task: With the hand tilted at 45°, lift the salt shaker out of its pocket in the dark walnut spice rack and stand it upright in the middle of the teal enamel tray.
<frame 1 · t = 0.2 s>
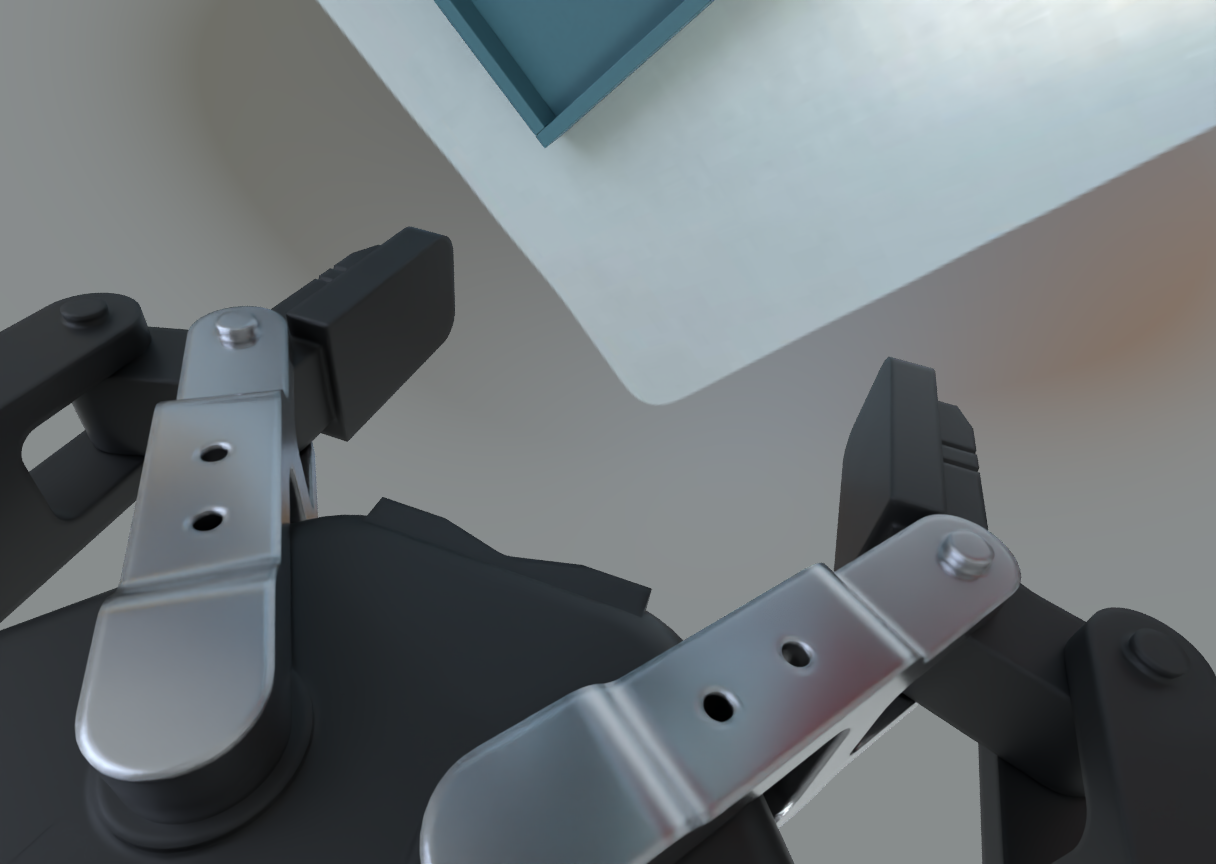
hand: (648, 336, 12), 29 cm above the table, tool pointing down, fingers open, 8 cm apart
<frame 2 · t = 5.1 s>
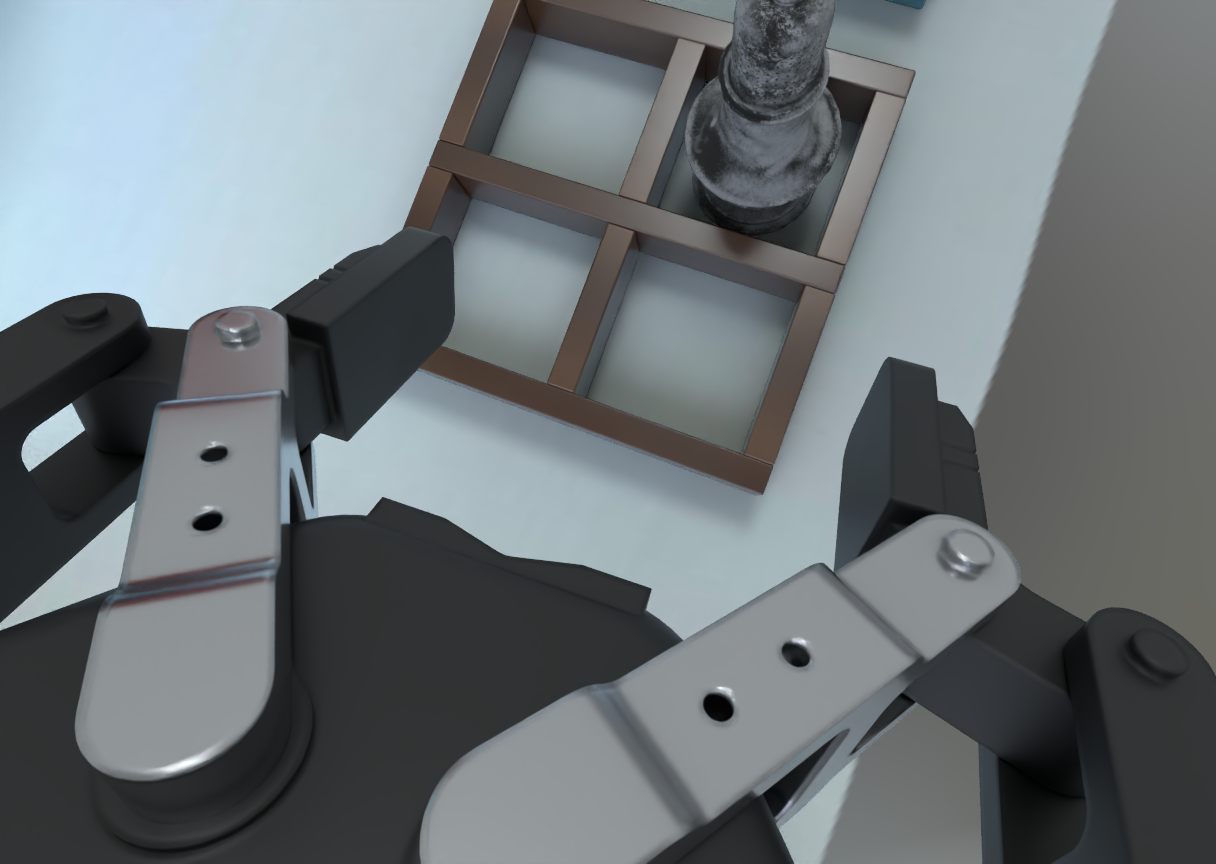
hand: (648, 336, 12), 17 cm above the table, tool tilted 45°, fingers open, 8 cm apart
spice rack: (632, 235, 30), on the table
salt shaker: (753, 177, 30), resting in spice rack
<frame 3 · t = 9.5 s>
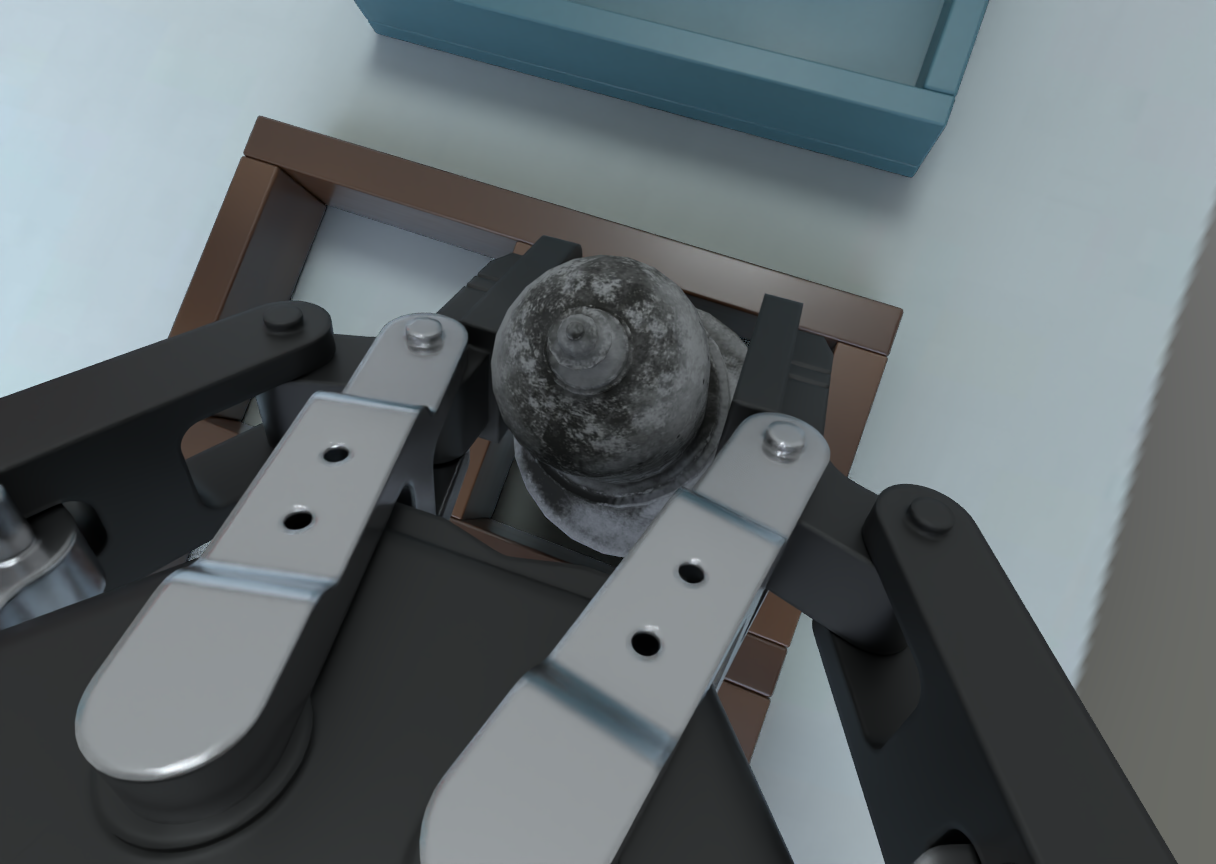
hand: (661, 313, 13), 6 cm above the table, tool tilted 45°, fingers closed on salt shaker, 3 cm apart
spice rack: (464, 531, 19), on the table
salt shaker: (651, 441, 19), resting in spice rack, touching gripper
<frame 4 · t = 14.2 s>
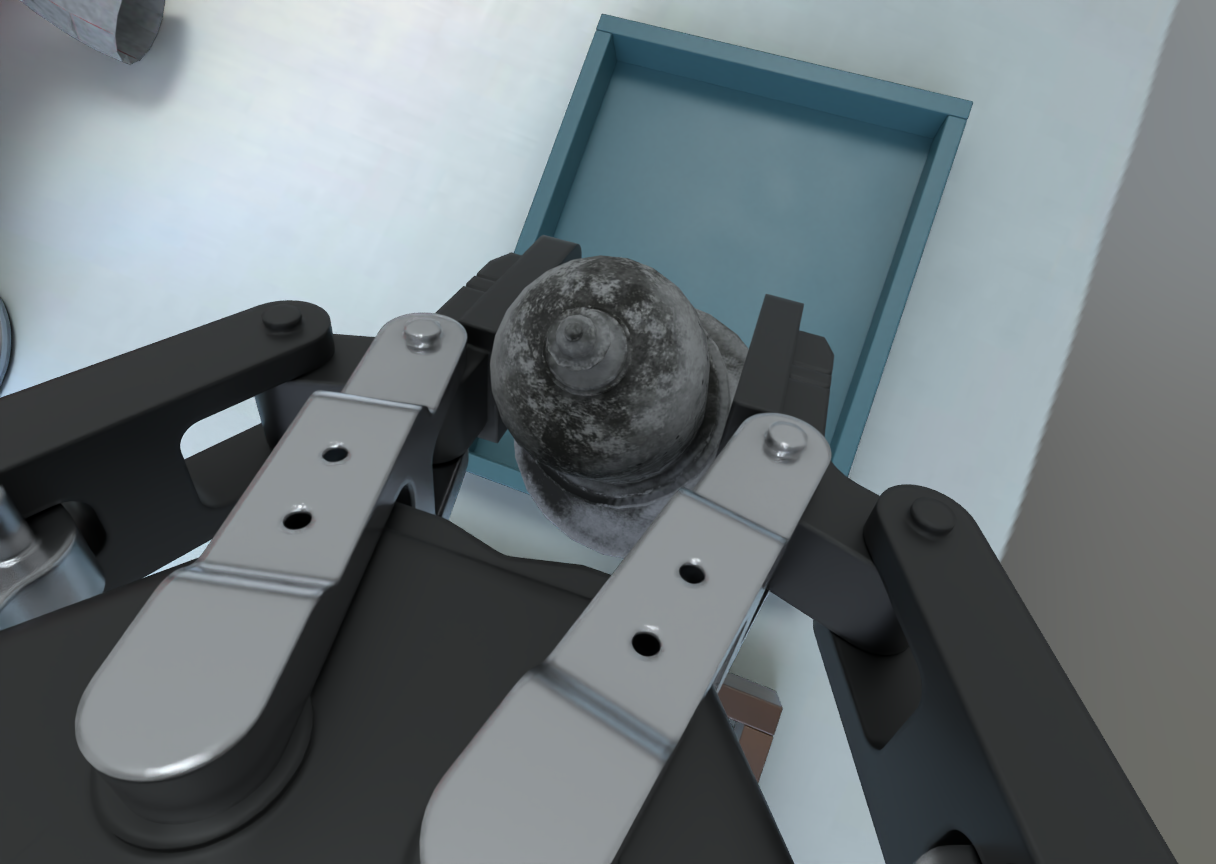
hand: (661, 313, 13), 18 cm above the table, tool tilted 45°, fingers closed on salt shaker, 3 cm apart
spice rack: (521, 804, 31), on the table
tray: (698, 303, 32), on the table
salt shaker: (652, 442, 19), point 12 cm above the table, touching gripper
when the fingers open (6 cm above the table, at t = 18.9 s): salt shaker stays where it is, resting on tray.
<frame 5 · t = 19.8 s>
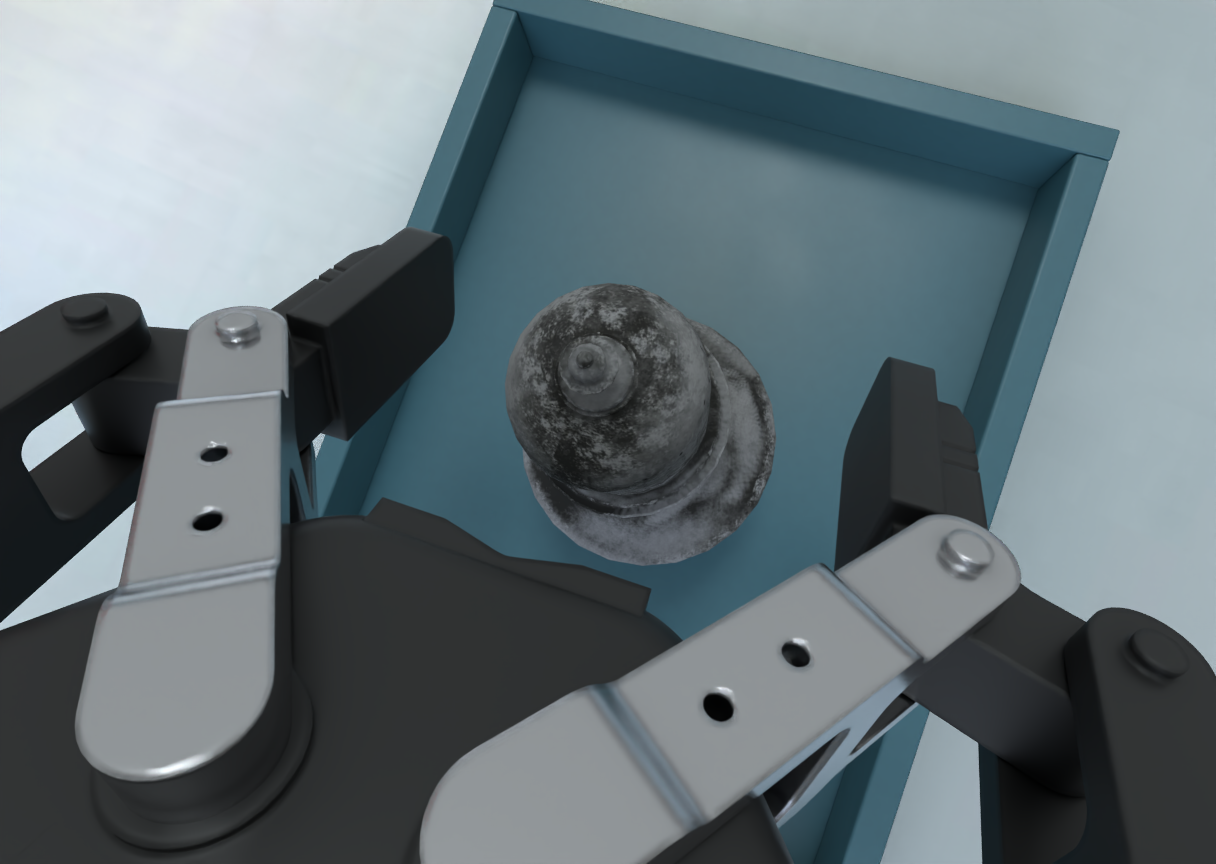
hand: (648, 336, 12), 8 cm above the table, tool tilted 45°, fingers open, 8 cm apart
tray: (655, 444, 20), on the table
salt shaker: (656, 449, 19), resting on tray
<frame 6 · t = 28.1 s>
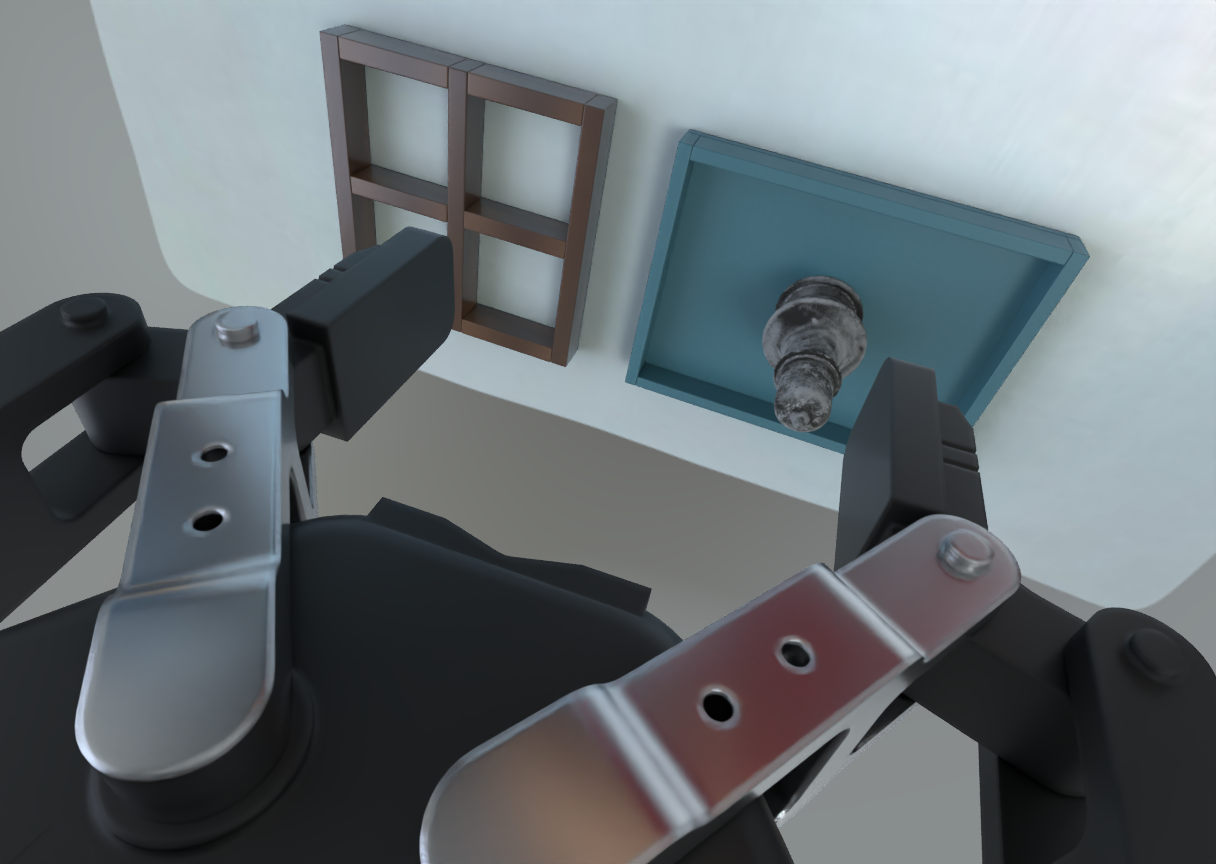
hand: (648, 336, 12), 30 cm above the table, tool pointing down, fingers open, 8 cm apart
spice rack: (472, 203, 46), on the table
tray: (821, 309, 43), on the table
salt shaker: (818, 313, 43), resting on tray
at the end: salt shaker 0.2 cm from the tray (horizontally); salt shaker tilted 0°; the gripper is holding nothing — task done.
